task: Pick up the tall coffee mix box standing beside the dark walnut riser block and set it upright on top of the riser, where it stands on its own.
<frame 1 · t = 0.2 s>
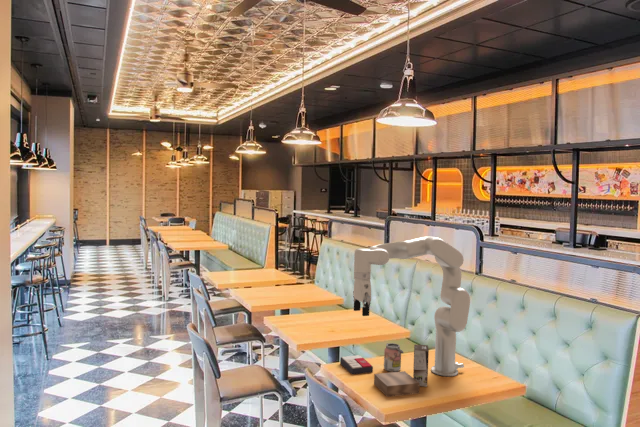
hand: (361, 313, 219), 31 cm above the table, tool pointing down, fingers open, 9 cm apart
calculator: (356, 369, 236), on the table
coffee box: (420, 382, 220), on the table
beverage can: (393, 369, 236), on the table
walnut riser: (396, 389, 212), on the table
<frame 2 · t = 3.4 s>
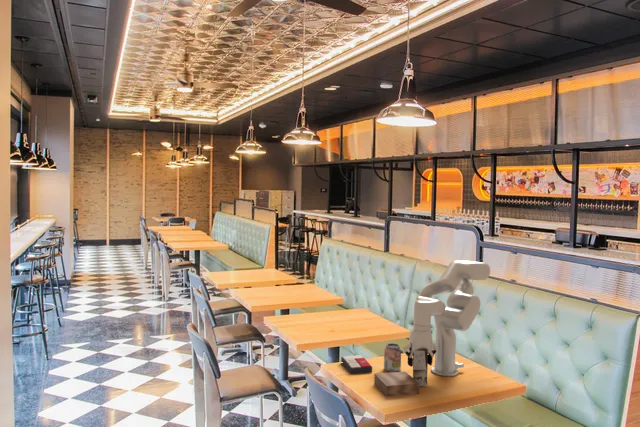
hand: (419, 365, 219), 8 cm above the table, tool pointing down, fingers open, 9 cm apart
nothing on the table moved.
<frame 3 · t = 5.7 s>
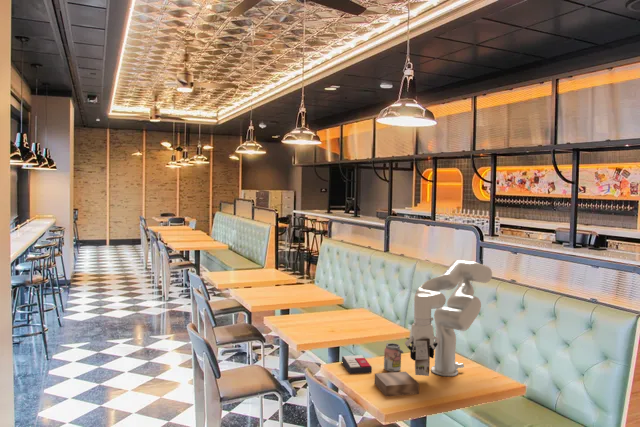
hand: (422, 358, 220), 11 cm above the table, tool pointing down, fingers closed on coffee box, 8 cm apart
coffee box: (422, 372, 221), point 4 cm above the table, touching gripper
everything else where it was.
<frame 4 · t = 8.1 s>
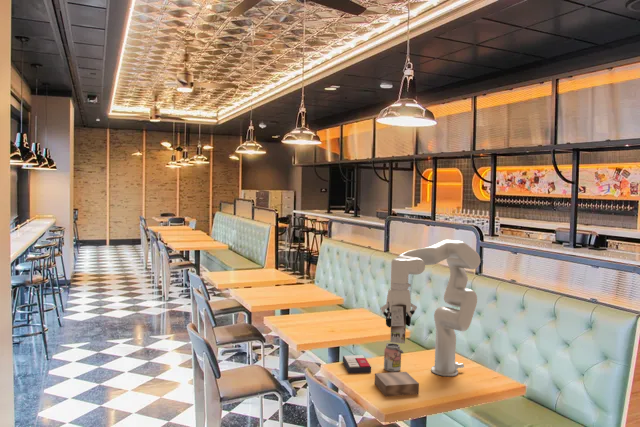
hand: (398, 325, 211), 28 cm above the table, tool pointing down, fingers closed on coffee box, 8 cm apart
coffee box: (397, 340, 211), point 21 cm above the table, touching gripper
when the fingers open (12 cm above the table, at t = 12.0 s): coffee box drops 2 cm, resting on walnut riser.
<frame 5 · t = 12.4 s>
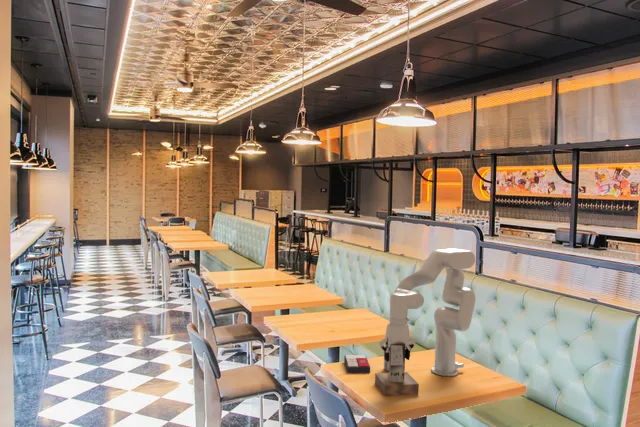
hand: (397, 359, 211), 13 cm above the table, tool pointing down, fingers open, 9 cm apart
coffee box: (396, 378, 212), point 4 cm above the table, touching walnut riser
walnut riser: (396, 389, 212), on the table, touching coffee box
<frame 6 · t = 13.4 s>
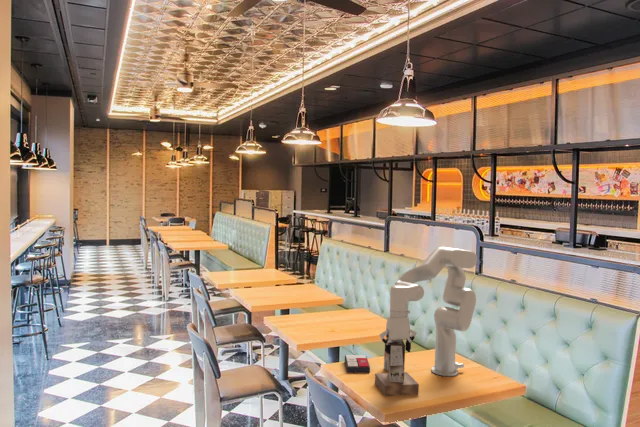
hand: (397, 352, 212), 16 cm above the table, tool pointing down, fingers open, 9 cm apart
coffee box: (395, 378, 212), point 4 cm above the table, touching gripper, walnut riser
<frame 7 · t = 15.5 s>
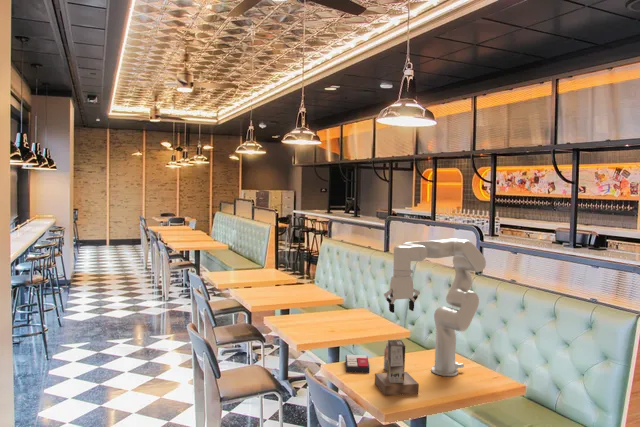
hand: (401, 311, 216), 33 cm above the table, tool pointing down, fingers open, 9 cm apart
coffee box: (395, 379, 211), point 4 cm above the table, touching walnut riser
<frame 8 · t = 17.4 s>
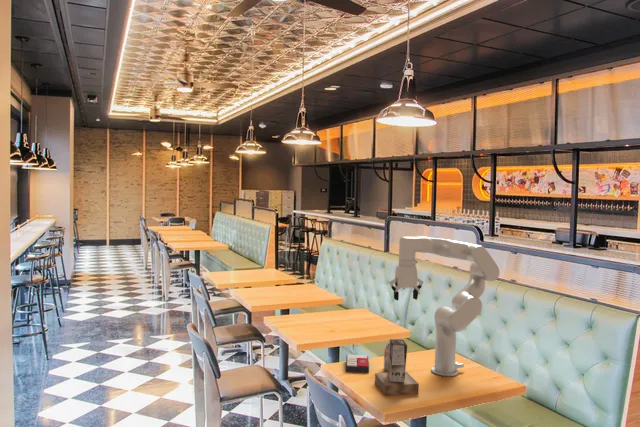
hand: (405, 299, 226), 36 cm above the table, tool pointing down, fingers open, 9 cm apart
coffee box: (395, 378, 212), point 4 cm above the table
walnut riser: (396, 389, 212), on the table
at the end: coffee box inside the target area on the walnut riser (0.6 cm from its centre), point 5.0 cm above the walnut riser's base; coffee box tilted 3°; coffee box touching nothing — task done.
